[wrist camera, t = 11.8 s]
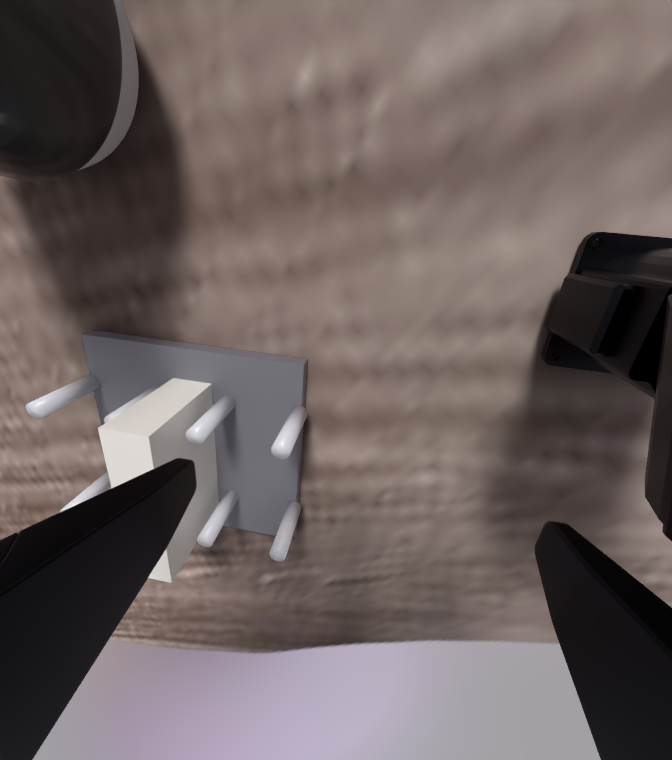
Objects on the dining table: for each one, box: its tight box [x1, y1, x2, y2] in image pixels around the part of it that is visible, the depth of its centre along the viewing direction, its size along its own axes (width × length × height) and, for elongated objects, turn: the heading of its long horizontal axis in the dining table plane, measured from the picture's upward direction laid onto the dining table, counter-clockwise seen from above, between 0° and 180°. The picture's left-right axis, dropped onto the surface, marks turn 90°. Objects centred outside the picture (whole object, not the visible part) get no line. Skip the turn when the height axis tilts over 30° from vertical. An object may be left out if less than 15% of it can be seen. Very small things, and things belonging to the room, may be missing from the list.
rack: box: [26, 330, 308, 562], centre depth 21 cm, size 15×14×5 cm
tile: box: [98, 378, 219, 583], centre depth 20 cm, size 2×10×6 cm, turn 174°
